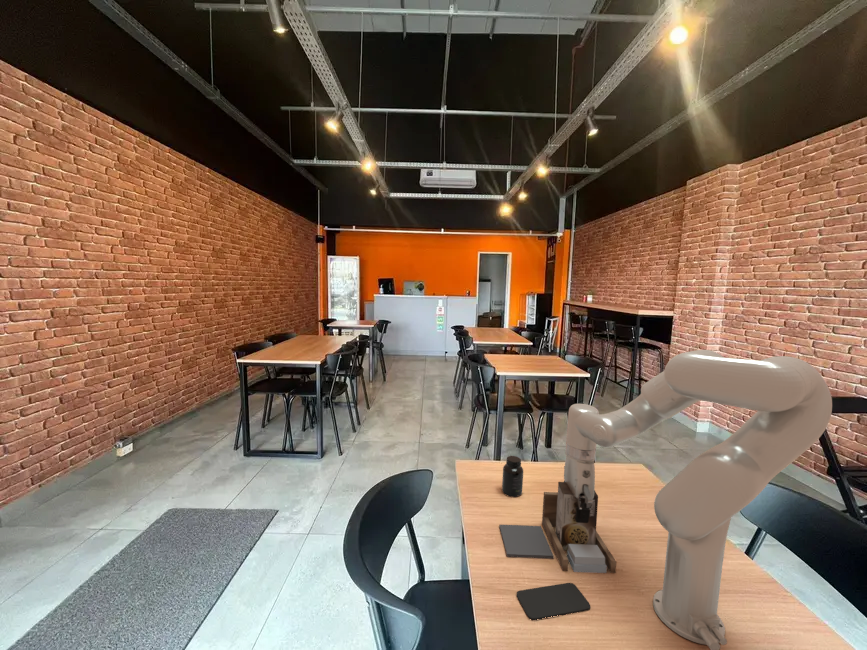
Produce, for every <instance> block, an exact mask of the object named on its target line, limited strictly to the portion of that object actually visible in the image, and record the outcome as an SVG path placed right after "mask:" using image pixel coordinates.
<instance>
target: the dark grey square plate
mask: <svg viewBox="0 0 867 650" xmlns="http://www.w3.org/2000/svg"><path fill="white" fill-rule="evenodd" d="M498 527H499V532H500V535H501V539H502V543H503V545H504V546H503V548H504V550H505V553H506V554H505V555H506V558H521V559H526V558H527V559H550V560H551V559H553V560H554V556H555V555H554V553H553V551H552V549H551V547H550V545H549V542H548V540H547V537H546V535H545V533H544V532H545V531H544V530H543V528H542V526H541V525H523V524H499V526H498Z"/></svg>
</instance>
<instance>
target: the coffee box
mask: <svg viewBox="0 0 867 650" xmlns="http://www.w3.org/2000/svg"><path fill="white" fill-rule="evenodd" d="M557 483H558V484H557V492H558V498H557V515H556V527H555V533H556V535H557V537H558V539H559V541H560V543H561V545H562V548H563V550H564V551H566V552H567V551H568V544H585V545H595V540H596V531H597V520H598V506H599V505H598V503H599V495H598V494H597V491H596V490H595V489H594V498H593V503H592V505H591V506H592V507H591V509H590V511H589V521H588V523H577V522H576V521H575V518H576V508H577V507H578V503H577V498H576V497H575V496H574V494H573V493H572V491H571V490H570V488H569V486H568V485H567V483H566V482H564V481H558V482H557ZM579 496H584V494H580V495H579ZM584 502H585V499H581V504H582V503H584Z"/></svg>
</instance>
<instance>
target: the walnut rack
mask: <svg viewBox="0 0 867 650" xmlns="http://www.w3.org/2000/svg"><path fill="white" fill-rule="evenodd" d="M557 498H558V491H557V492H556V491H555V492H554V491H553V492H552V491H544V492H543V502H542V503H543V504H542V519H541V525H542V527H543V528H542V529H544V530H543V531H544V532H545V534H546V536H547V537H546V538H548V541H549V543H550V545H551V547H552V550H553V552H554V554H555V555H554V556H556V559H557V561H558V564H559V566H560V568H561V570H562V572H563V571H565V572H567V571H568V570H569V561H568V558H567V553H566V552H565V550H563V548H562V545H561V543H560V541H559V539H558V537H557V535H556V533H555V532H556V530H554V528H556V515H557ZM595 545H597V546H598V547H599V549H600V550H601V552H602V553H603V555H604V557H605V564H606V566H607V570H608V571H609V573H611V574H612V573H613V574H615V573H616V569H617V560H616V559H615V557H614V555H613V554H612V553H611V551H610V550H609V548H608V546H607V545H606V544H605V542H604V540H603V539H602V538H601V536H600V534H599V533H598V532H597V530H596V540H595Z"/></svg>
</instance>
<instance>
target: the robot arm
mask: <svg viewBox="0 0 867 650" xmlns="http://www.w3.org/2000/svg"><path fill="white" fill-rule="evenodd" d="M640 392H641V393H640V394H639V395H638V396H637V397H635V399H633V400H631V401H630V402H629V403H627V404H626V405H623V406H622V407H621V408H619V409H617V410H613V411H610V412H607V413H601V414H600V412H599V409H597V408H596V407H595V406H593V405H591V404H587V403H574V404H572V405H570V407H569V409H568V417H567V427H566V429H567V430H566V437H565V438H566V439H565V451H564V454H565V462H564V466H563V469H564V471H563V480H564V481H563V482H566V483H567V485H568V486H569V488H570V490H571V491H572V493H573V494H574V496H575V497H576V498H577V503H578V507H577V508H576V518H575V521H576V522H577V523H588V521H589V511H590V509H591V507H592V506H591V505H592V503H593V498H594V490H595V487H596V471H595V468H596V467H595V460H596V455H597V454H596V453H597V446H601V447H603V448H613V447H616V446H618V445H620V444H622V443H624V442H627V441H630V440H633V439H634V438H636V437H638V436H640V435H641V434H643V433H645V432H647V431H648V430H650V429H651V428H653V427H656V426H657V425H658V424H660V423H662V422H663V421H666V420H670V419H671V418H672V417H675V416H676V415H677V414H679V413H681V412H682V411H685V410H686V409H687V408H690V407H691V406H693V405H695V404H697V403H698V402H699V401H702V402H708V403H712V404H713V403H714V404H719V405H724V406H730V407H736V408H740V409H745V410H746V409H747V410H750V411H756V412H755V413H754V414H752V416H751V417H750V418H748V419H747V420H746V421H745V422H744V423H743V424H742V425H741V426H740V427H739V428H738V429H737V430H736V431H734V432H733V433H732V434H731V435H730V436H729V437H727V438H726V439H725V440H724V441H722V442H720V443H718V444H716V445H714V446H712V447H710V448H709V449H707V450H705V451H703V452H702V453H700V454H699V455H698V456H696V457H695V458H693V460H691V462H689V463H688V464H687V465H686V466H685V467H684V468H682V470H681V471H680V472H678V473H677V474H676V475H675V476H674V477H673V478H672V479H671V480H669V482H668V483H666V484H665V486H663V487H662V488H661V489H660V490H658V492H657V494H656V495H655V498H654V503H653V508H654V513H655V516H656V519H657V521H658V522H659V524H660V525H661V526H662V528H663V529H664V530H666V531H667V532H668V535H667V540H666V541H667V542H666V551H665V552H666V553H665V562H664V563H665V564H664V573H663V582H662V583H663V585H662V589H660V590H658V591H656V592H655V593H654V595H653V599H652V607H653V610H654V612H655V613H656V615H657V617H659V619H660V620H661V622H663V624H665V626H667V627H668V628H669V629H670V630H671V631H673V632H674V633H676V634H677V635H679V636H681V637H682V638H684V639H687V640H689V641H691V642H693V643H697V644H700V645H706V646H707V647H708V648H709V649H710V650H720V649H721V645H726V644H727V643H728V640H727V638H726V637H725V635H726V627H725V624H724V622H723V620H722V619H721V617H720V616H719V615H718V609H719V599H720V598H719V597H720V590H721V581H722V572H723V564H724V557H725V549H726V542H727V537H728V532H729V528H730V524H731V519H732V518H733V516H735V515H736V514H738V513H739V512H740V511H741V510H743V509H744V508H746V507H747V506H748V505H749V504H750V503H752V502H753V501H754V500H755V498H756V497H758V495H760V493H762V492H763V491H764V489H766V487H767V485H768V484H770V481H772V480H773V479H774V478H775V477H776V476H777V475H778V474H780V472H782V471H783V470H785V469H786V468H787V467H789V465H790V464H792V463H793V462H795V460H797V459H798V458H799V457H801V456H802V455H803V454H804V453H805V452H806V451H808V449H810V448H811V447H812V446H813V445H814V444H815V443H816V442H817V441H818V440H819V439H820V438H821V437H822V435H823V434H824V432H825V431H826V429H827V427H828V425H829V423H830V420H831V418H832V413H833V412H832V411H833V397H832V393H831V390H830V389H829V386H828V384H827V382H826V380H825V378H824V377H823V376H822V374H821V373H820V372H819V370H817V368H815V367H814V366H813V365H811V363H808V362H807V361H805V360H803V359H800V358H798V357H793V356H787V355H781V356H778V355H777V356H772V357H767V358H764V359H761V360H760V359H759V360H757V359H748V358H747V359H743V358H732V357H724V356H723V355H722V354H720V353H718V352H716V351H713V350H709V349H697V350H692V351H685V352H682V353H679V354H676V355H675V356H673V357H672V358H671V359H669V361H668V362H667V363H666V365H665V368H664V370H663V371H661V372H660V373H659V374H656V376H653V377H652V378H651V379H649V380H648V381H646V382H645V383H643V385H642V386H641V389H640ZM580 494H584V496H579V495H580ZM581 499H585V502H584V503H582V504H581ZM720 644H721V645H720Z"/></svg>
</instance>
